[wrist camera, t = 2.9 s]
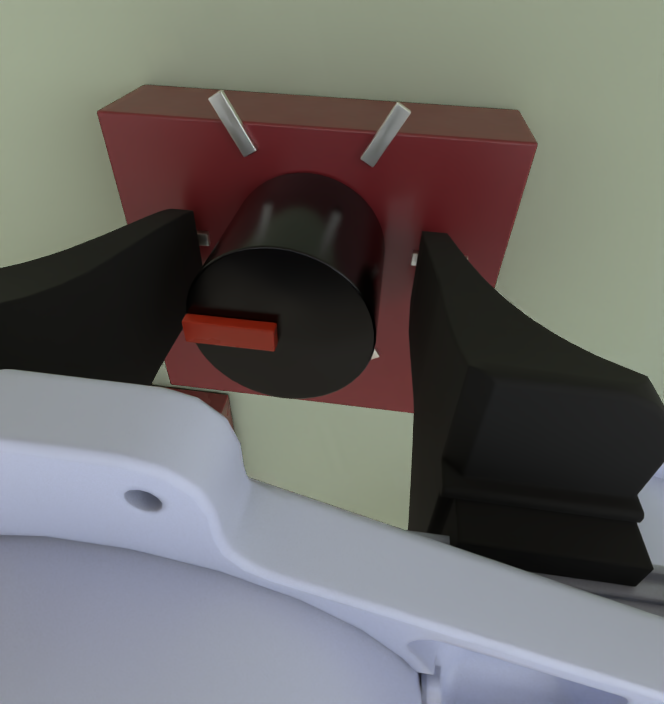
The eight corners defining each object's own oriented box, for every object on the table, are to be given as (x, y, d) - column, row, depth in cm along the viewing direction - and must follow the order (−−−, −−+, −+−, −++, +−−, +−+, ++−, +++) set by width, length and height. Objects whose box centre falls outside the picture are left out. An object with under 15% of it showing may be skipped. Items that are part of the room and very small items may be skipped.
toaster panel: (527, 81, 12) (550, 113, 10) (451, 367, 18) (455, 422, 16) (137, 57, 13) (82, 81, 11) (195, 338, 19) (168, 388, 17)
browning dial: (393, 178, 11) (385, 265, 8) (377, 316, 14) (366, 418, 11) (226, 165, 11) (161, 244, 9) (241, 302, 14) (196, 398, 11)
